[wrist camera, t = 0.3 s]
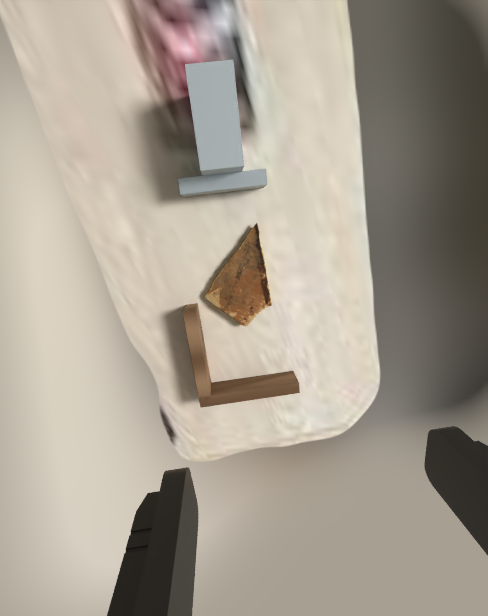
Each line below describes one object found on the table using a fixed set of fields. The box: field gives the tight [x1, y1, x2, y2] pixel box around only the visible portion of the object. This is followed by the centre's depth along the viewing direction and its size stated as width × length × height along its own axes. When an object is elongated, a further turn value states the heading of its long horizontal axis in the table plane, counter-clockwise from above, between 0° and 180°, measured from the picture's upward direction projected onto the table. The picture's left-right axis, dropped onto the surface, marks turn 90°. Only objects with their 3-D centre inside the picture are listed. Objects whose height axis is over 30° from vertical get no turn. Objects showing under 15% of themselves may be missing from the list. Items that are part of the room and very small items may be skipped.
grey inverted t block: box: [178, 60, 267, 197], centre depth 28 cm, size 10×9×6 cm
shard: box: [205, 223, 272, 326], centre depth 35 cm, size 11×8×2 cm
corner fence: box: [183, 304, 300, 407], centre depth 36 cm, size 13×13×3 cm
